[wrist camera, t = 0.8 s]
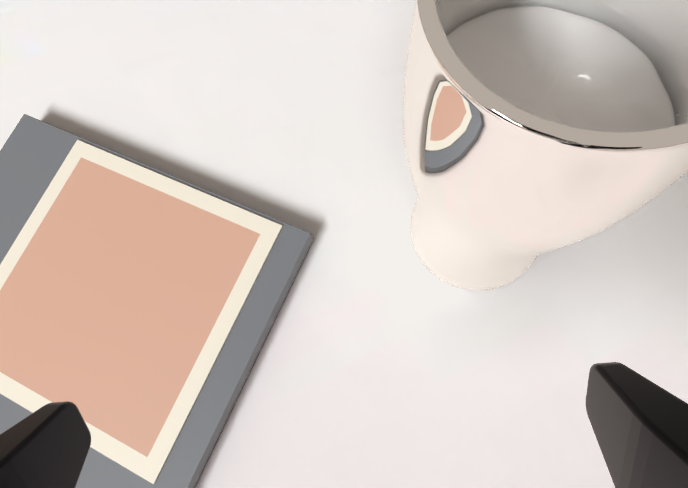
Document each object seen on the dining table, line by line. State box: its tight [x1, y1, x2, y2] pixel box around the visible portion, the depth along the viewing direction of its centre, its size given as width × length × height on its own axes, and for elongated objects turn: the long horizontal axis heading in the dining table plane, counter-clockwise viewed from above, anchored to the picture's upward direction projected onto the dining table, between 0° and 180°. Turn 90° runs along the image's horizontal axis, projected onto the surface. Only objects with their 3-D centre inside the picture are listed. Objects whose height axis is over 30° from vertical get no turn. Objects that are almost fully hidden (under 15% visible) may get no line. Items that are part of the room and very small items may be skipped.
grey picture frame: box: [0, 114, 314, 488], centre depth 23 cm, size 18×16×1 cm
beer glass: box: [403, 0, 688, 290], centre depth 15 cm, size 7×7×15 cm
